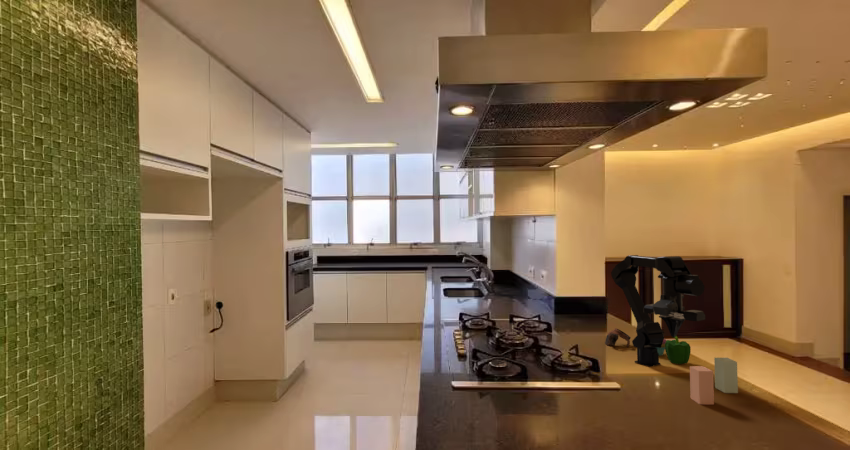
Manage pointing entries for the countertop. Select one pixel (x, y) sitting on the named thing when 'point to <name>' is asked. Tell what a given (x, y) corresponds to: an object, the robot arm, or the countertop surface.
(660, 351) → the cupcake
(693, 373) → the terracotta block
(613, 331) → the headphones
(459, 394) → the countertop surface
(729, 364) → the sage block
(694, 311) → the robot arm
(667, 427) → the countertop surface
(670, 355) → the bell pepper
